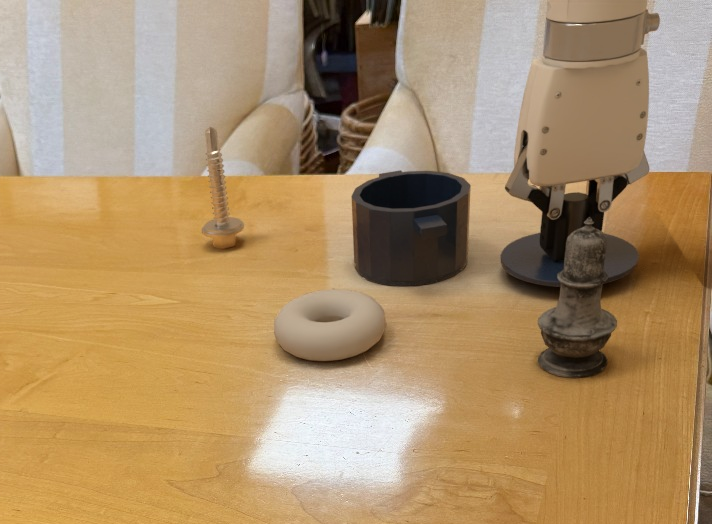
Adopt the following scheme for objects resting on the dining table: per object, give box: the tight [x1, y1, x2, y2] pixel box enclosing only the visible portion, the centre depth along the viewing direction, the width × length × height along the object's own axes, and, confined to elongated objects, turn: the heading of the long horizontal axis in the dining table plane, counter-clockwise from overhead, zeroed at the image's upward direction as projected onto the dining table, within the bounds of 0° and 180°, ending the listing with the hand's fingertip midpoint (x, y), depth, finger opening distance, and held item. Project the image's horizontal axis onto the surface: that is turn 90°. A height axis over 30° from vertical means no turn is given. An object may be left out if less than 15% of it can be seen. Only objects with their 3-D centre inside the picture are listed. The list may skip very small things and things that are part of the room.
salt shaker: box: [537, 217, 618, 379], centre depth 70 cm, size 6×6×12 cm
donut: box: [273, 288, 387, 362], centre depth 81 cm, size 10×4×10 cm
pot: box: [351, 169, 472, 287], centre depth 91 cm, size 11×17×8 cm
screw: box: [201, 126, 245, 250], centre depth 100 cm, size 13×5×5 cm
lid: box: [499, 192, 640, 288], centre depth 84 cm, size 12×12×7 cm
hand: (568, 251), depth 85 cm, fingers closed on lid, 2 cm apart
